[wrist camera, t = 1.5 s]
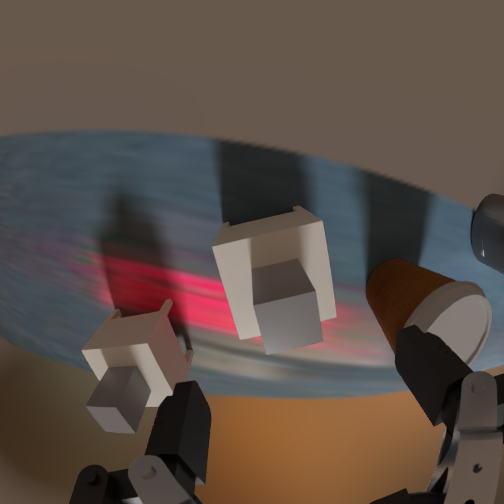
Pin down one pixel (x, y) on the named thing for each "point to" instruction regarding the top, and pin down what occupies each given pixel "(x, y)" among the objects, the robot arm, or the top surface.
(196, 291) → the top surface
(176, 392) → the robot arm
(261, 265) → the cover
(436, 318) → the disposable coffee cup
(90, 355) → the cover
